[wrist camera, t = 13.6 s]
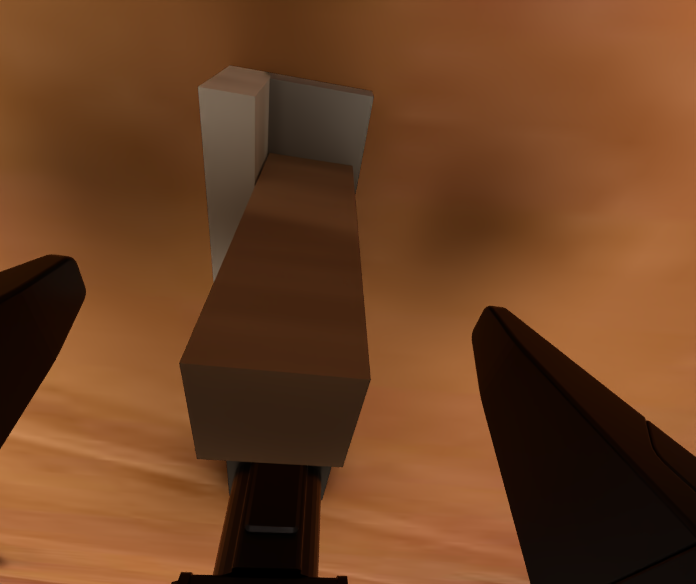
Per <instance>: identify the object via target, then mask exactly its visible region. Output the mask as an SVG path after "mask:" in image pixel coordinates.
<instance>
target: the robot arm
mask: <svg viewBox="0 0 696 584" xmlns="http://www.w3.org/2000/svg"><path fill="white" fill-rule="evenodd" d="M85 295H86V289H85V285H84V282H83V279H82V276H81V274H80V271H79V268H78V265H77V263H76V261H75V260H74V259H73V258H72V257H69V256H61V255H46V256H43V257H40V258H37V259H35V260H32V261H29V262H26V263H24V264H21V265H18V266H15V267H12V268H10V269H7V270H4V271H1V272H0V449H1V447H2V445H3V444H4V442H5V441H6V439H7V437H8V436H9V434H10V433H11V431H12V429H13V428H14V426H15V425H16V423H17V421H18V420H19V418H20V417H21V415H22V413H23V412H24V410H25V409H26V407H27V405H28V404H29V402H30V401H31V399H32V397H33V396H34V394H35V393H36V391H37V389H38V388H39V386H40V385H41V383H42V381H43V380H44V378H45V377H46V375H47V373H48V372H49V370H50V368H51V367H52V365H53V363H54V362H55V360H56V358H57V356H58V354H59V352H60V350H61V348H62V346H63V344H64V342H65V340H66V338H67V335H68V333H69V331H70V329H71V327H72V325H73V323H74V321H75V318H76V316H77V314H78V312H79V310H80V308H81V306H82V304H83V301H84V299H85ZM472 345H473V351H474V358H475V365H476V371H477V378H478V385H479V391H480V396H481V400H482V405H483V408H484V412H485V416H486V420H487V423H488V427H489V431H490V435H491V438H492V442H493V446H494V449H495V453H496V457H497V461H498V464H499V468H500V472H501V476H502V479H503V483H504V487H505V490H506V494H507V498H508V502H509V505H510V509H511V513H512V517H513V520H514V524H515V528H516V531H517V535H518V539H519V543H520V546H521V550H522V554H523V558H524V561H525V565H526V569H527V573H528V576H529V580H530V584H696V457H695V456H694V455H693V454H691V453H690V452H689V451H687V450H686V449H685V448H683V447H682V446H681V445H679V444H678V443H677V442H676V441H674V440H673V439H672V438H670V437H669V436H668V435H666V434H665V433H664V432H663V431H661V430H660V429H659V428H658V427H656V426H655V425H654V424H653V423H651V422H650V421H646V419H645V417H644V416H642V415H641V414H640V413H638V412H637V411H636V410H635V409H633V408H632V407H631V406H630V405H628V404H627V403H626V402H624V401H623V400H622V399H621V398H619V397H618V396H617V395H615V394H614V393H613V392H612V391H610V390H609V389H608V388H607V387H605V386H604V385H603V384H601V383H600V382H599V381H598V380H596V379H595V378H594V377H593V376H591V375H590V374H589V373H587V372H586V371H585V370H584V369H582V368H581V367H580V366H579V365H577V364H576V363H575V362H573V361H572V360H571V359H570V358H568V357H567V356H566V355H565V354H563V353H562V352H561V351H559V350H558V349H557V348H556V347H554V346H553V345H552V344H551V343H549V342H548V341H547V340H545V339H544V338H543V337H542V336H540V335H539V334H538V333H537V332H535V331H534V330H533V329H532V328H530V327H529V326H528V325H526V324H525V323H524V322H523V321H521V320H520V319H519V318H518V317H516V316H515V315H514V314H512V313H511V312H510V311H509V310H507V309H506V308H503V307H496V306H488V307H486V308H485V309H484V310H483V312H482V314H481V316H480V318H479V320H478V322H477V324H476V325H475V327H474V329H473V332H472ZM330 470H331V467H329V466H311V465H294V464H276V463H259V462H241V461H227V473H228V485H229V495H230V498H229V502H228V507H227V512H226V516H225V521H224V526H223V530H222V535H221V540H220V544H219V549H218V553H217V558H216V563H215V567H214V572H213V575H193V574H192V572H181V574H180V576H179V579H178V581H174V582H172V583H171V584H348V580H347V576H337V577H336V578H320V577H318V563H319V534H320V505H321V500H322V498H323V495H324V491H325V488H326V484H327V481H328V477H329V474H330Z"/></svg>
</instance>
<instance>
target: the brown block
mask: <svg viewBox="0 0 696 584" xmlns="http://www.w3.org/2000/svg"><path fill="white" fill-rule="evenodd" d="M198 94H199V106H200V119H201V131H202V144H203V156H204V169H205V181H206V194H207V206H208V219H209V231H210V244H211V256H212V269H213V281H214V283H213V286H212V288H211V290H210V293H209V295H208V297H207V300H206V302H205V304H204V307H203V309H202V311H201V314H200V316H199V318H198V321H197V323H196V325H195V328H194V330H193V332H192V335H191V337H190V339H189V342H188V344H187V346H186V349H185V351H184V353H183V356H182V358H181V360H180V363H179V364H180V369H181V375H182V380H183V386H184V391H185V397H186V402H187V407H188V413H189V418H190V424H191V429H192V434H193V440H194V445H195V451H196V456H197V459H206V460H224V461H241V462H259V463H276V464H294V465H311V466H329V467H343V464H344V461H345V458H346V455H347V452H348V449H349V446H350V443H351V439H352V436H353V433H354V430H355V427H356V424H357V421H358V418H359V414H360V411H361V408H362V405H363V402H364V399H365V396H366V393H367V389H368V386H369V383H370V380H371V378H370V366H369V355H368V343H367V331H366V319H365V307H364V295H363V284H362V272H361V260H360V248H359V236H358V224H357V213H356V201H355V194H356V189H357V184H358V178H359V173H360V168H361V162H362V157H363V152H364V146H365V141H366V135H367V130H368V125H369V119H370V114H371V109H372V103H373V98H374V96H373V93H372V91H369V90H364V89H358V88H353V87H347V86H341V85H336V84H330V83H325V82H319V81H314V80H308V79H303V78H297V77H292V76H286V75H280V74H275V73H269V72H264V71H258V70H253V69H247V68H242V67H236V66H231V65H230V66H228V67H227V68H225V69H224V70H222V71H221V72H219V73H218V74H216V75H215V76H213V77H212V78H210V79H209V80H207V81H206V82H204V83H203V84H201V85H200V86H198Z"/></svg>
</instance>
